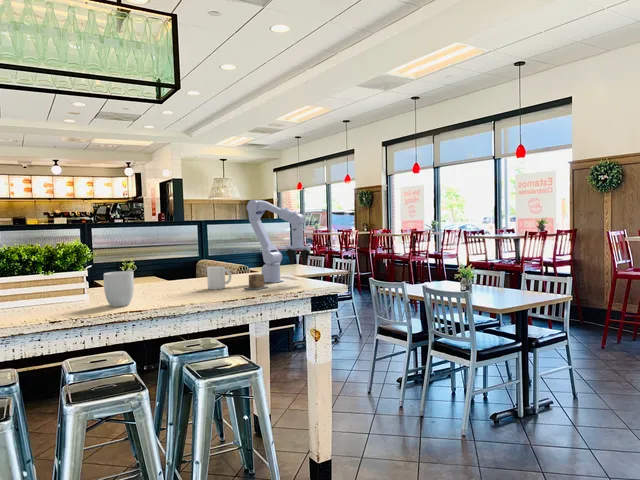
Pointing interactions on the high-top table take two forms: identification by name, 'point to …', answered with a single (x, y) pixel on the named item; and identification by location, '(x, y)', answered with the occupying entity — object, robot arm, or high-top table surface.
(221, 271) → the mug
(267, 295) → the high-top table surface
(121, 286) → the mug
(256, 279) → the walnut block
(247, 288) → the slate coaster
